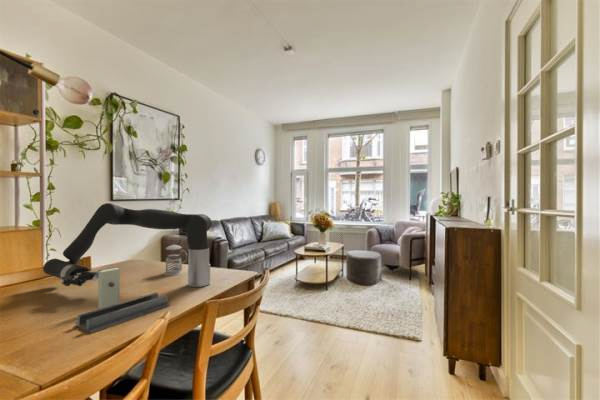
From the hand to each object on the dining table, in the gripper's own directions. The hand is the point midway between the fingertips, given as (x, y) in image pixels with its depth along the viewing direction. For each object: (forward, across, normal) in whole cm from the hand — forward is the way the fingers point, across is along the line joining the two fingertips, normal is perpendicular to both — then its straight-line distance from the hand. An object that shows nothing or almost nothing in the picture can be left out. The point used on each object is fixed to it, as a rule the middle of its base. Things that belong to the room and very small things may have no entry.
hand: (94, 280), depth 109 cm
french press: (-11, +44, +8) cm, 46 cm away
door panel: (+11, 0, +8) cm, 14 cm away
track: (+23, 0, +8) cm, 25 cm away
